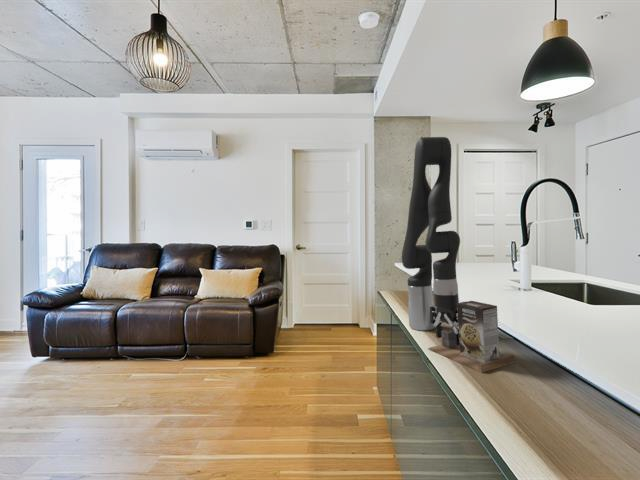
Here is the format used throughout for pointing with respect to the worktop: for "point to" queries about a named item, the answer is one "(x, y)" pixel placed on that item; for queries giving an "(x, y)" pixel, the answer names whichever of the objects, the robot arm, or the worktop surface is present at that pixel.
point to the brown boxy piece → (478, 331)
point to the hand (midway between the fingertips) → (448, 340)
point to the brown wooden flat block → (453, 353)
